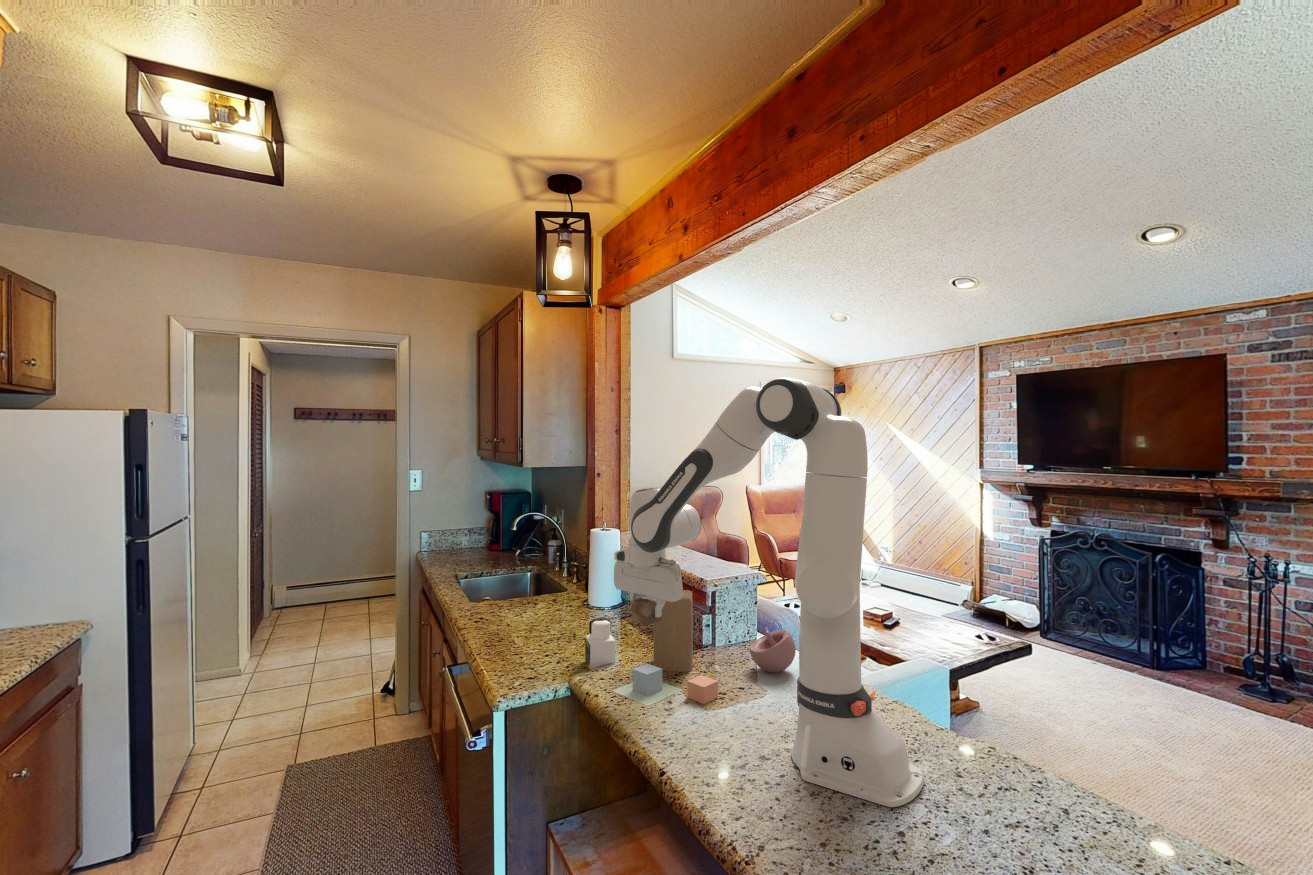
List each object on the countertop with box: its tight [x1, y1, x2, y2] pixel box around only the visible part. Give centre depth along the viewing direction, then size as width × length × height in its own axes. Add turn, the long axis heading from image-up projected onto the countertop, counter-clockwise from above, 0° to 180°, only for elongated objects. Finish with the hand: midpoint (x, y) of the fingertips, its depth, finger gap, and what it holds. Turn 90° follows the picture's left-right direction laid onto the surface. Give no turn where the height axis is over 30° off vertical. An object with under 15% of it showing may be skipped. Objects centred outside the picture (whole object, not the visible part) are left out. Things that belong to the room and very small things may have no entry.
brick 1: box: [631, 596, 662, 626], centre depth 133 cm, size 5×5×5 cm
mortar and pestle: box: [748, 626, 796, 673], centre depth 148 cm, size 12×12×12 cm
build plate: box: [611, 681, 683, 707], centre depth 132 cm, size 12×12×1 cm
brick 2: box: [632, 663, 663, 697], centre depth 132 cm, size 5×5×5 cm
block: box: [652, 589, 694, 673], centre depth 149 cm, size 10×10×20 cm
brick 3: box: [686, 675, 719, 705], centre depth 128 cm, size 5×5×5 cm
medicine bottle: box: [584, 617, 616, 670], centre depth 153 cm, size 7×7×12 cm
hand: (647, 613), depth 133 cm, fingers closed on brick 1, 5 cm apart
